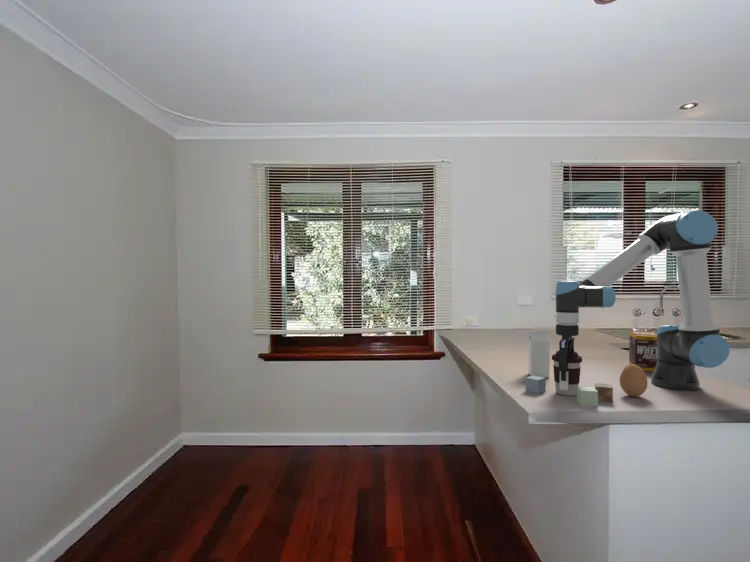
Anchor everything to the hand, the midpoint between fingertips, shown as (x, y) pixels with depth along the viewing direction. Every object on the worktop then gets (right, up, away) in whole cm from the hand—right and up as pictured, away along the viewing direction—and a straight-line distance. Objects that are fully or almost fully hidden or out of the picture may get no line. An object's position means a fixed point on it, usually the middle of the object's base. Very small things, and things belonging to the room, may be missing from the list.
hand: (566, 386), depth 154 cm
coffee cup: (0, -3, 0) cm, 3 cm away
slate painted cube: (-10, -3, +3) cm, 11 cm away
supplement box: (+54, -2, +41) cm, 67 cm away
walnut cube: (+9, -3, -8) cm, 12 cm away
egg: (+22, -3, -4) cm, 22 cm away
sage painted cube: (+1, -3, -12) cm, 12 cm away
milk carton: (0, -2, +27) cm, 27 cm away
